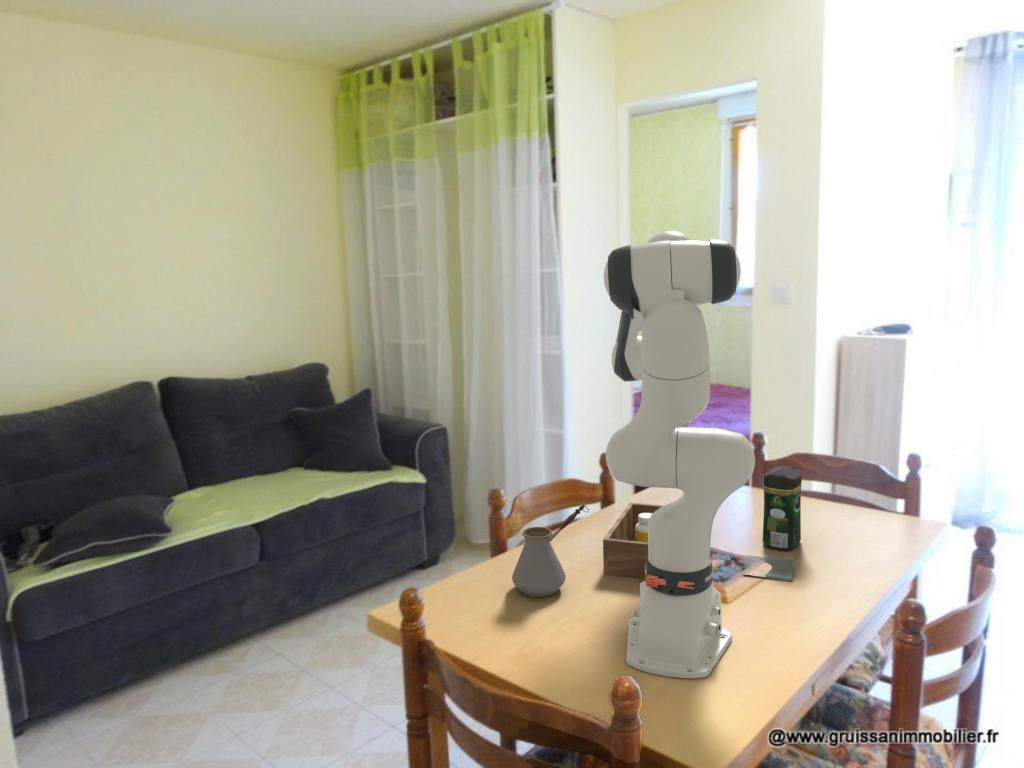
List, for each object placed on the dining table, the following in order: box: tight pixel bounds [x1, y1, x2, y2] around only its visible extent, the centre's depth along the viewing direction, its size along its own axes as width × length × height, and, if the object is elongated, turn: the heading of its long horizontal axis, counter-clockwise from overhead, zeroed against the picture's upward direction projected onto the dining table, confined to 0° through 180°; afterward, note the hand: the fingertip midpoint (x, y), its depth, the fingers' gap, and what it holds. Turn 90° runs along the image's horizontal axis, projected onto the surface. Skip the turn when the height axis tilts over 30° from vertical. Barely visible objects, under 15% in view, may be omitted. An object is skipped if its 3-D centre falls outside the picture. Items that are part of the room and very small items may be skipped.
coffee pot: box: [511, 504, 590, 598], centre depth 158 cm, size 21×12×15 cm, turn 133°
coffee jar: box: [762, 465, 802, 551], centre depth 174 cm, size 10×8×19 cm
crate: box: [602, 502, 664, 580], centre depth 171 cm, size 26×14×8 cm, turn 158°
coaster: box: [746, 555, 794, 582], centre depth 161 cm, size 10×10×1 cm
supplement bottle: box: [634, 513, 652, 543], centre depth 171 cm, size 5×5×10 cm
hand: (672, 440), depth 172 cm, fingers open, 8 cm apart
